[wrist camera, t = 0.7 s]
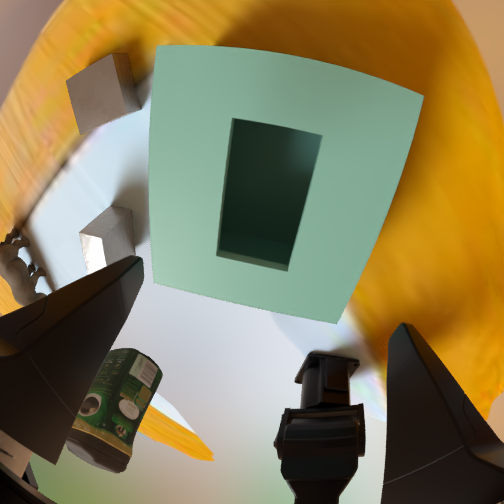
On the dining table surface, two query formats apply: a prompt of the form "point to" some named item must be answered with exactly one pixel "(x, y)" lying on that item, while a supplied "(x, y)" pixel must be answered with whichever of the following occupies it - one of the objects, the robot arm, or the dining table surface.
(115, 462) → the coffee jar
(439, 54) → the dining table surface
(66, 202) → the dining table surface
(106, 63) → the block
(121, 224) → the block
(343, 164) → the teal box
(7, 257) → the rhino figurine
